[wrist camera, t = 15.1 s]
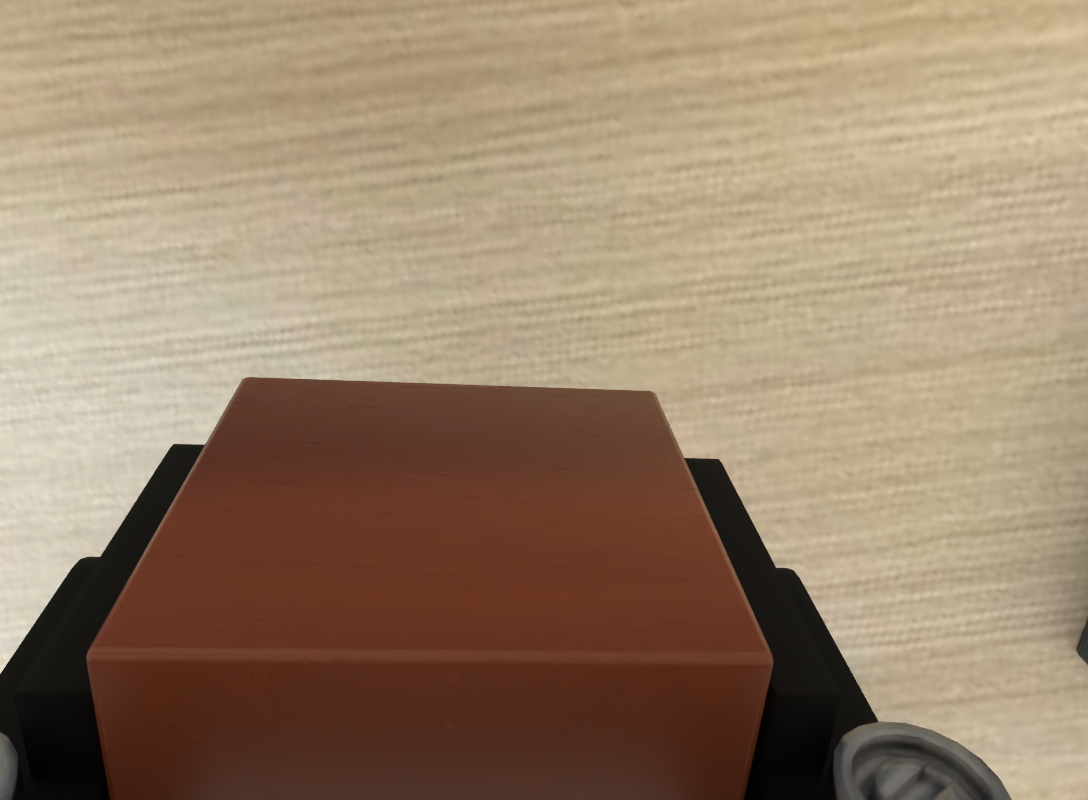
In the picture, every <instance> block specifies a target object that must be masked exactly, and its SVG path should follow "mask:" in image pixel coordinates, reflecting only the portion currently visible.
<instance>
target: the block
mask: <svg viewBox="0 0 1088 800" xmlns="http://www.w3.org/2000/svg"><path fill="white" fill-rule="evenodd" d="M86 660H87V667H88V673H89V679H90V685H91V691H92V697H93V703H94V709H95V714H96V720H97V726H98V732H99V738H100V744H101V750H102V756H103V762H104V768H105V773H106V779H107V785H108V791H109V797H110V800H744V797H745V792H746V788H747V783H748V779H749V774H750V769H751V765H752V760H753V755H754V751H755V746H756V742H757V737H758V732H759V728H760V723H761V719H762V714H763V709H764V705H765V700H766V696H767V691H768V686H769V682H770V677H771V672H772V668H773V662H774V660H773V656H772V653H771V651H770V649H769V646H768V644H767V642H766V640H765V637H764V635H763V633H762V631H761V629H760V626H759V624H758V622H757V620H756V617H755V615H754V613H753V611H752V608H751V606H750V604H749V602H748V600H747V597H746V595H745V593H744V591H743V588H742V586H741V584H740V582H739V579H738V577H737V575H736V573H735V571H734V568H733V566H732V564H731V562H730V559H729V557H728V555H727V553H726V550H725V548H724V546H723V544H722V542H721V539H720V537H719V535H718V533H717V530H716V528H715V526H714V524H713V521H712V519H711V517H710V515H709V512H708V510H707V508H706V506H705V504H704V501H703V499H702V497H701V495H700V492H699V490H698V488H697V486H696V483H695V481H694V479H693V477H692V475H691V472H690V470H689V468H688V466H687V463H686V461H685V459H684V457H683V454H682V452H681V450H680V448H679V446H678V443H677V441H676V439H675V437H674V434H673V432H672V430H671V428H670V425H669V423H668V421H667V419H666V417H665V414H664V412H663V410H662V408H661V405H660V403H659V401H658V399H657V396H656V394H655V393H653V392H651V391H632V390H603V389H574V388H545V387H516V386H487V385H458V384H429V383H400V382H371V381H342V380H313V379H284V378H255V377H248V378H245V379H242V381H241V383H240V385H239V386H238V388H237V390H236V392H235V393H234V395H233V397H232V399H231V400H230V402H229V404H228V406H227V407H226V409H225V411H224V413H223V414H222V416H221V418H220V420H219V421H218V423H217V425H216V427H215V428H214V430H213V432H212V434H211V435H210V437H209V439H208V441H207V442H206V444H205V446H204V448H203V450H202V451H201V453H200V455H199V457H198V458H197V460H196V462H195V464H194V465H193V467H192V469H191V471H190V472H189V474H188V476H187V478H186V479H185V481H184V483H183V485H182V486H181V488H180V490H179V492H178V493H177V495H176V497H175V499H174V500H173V502H172V504H171V506H170V507H169V509H168V511H167V513H166V514H165V516H164V518H163V520H162V521H161V523H160V525H159V527H158V528H157V530H156V532H155V534H154V536H153V537H152V539H151V541H150V543H149V544H148V546H147V548H146V550H145V551H144V553H143V555H142V557H141V558H140V560H139V562H138V564H137V565H136V567H135V569H134V571H133V572H132V574H131V576H130V578H129V579H128V581H127V583H126V585H125V586H124V588H123V590H122V592H121V593H120V595H119V597H118V599H117V600H116V602H115V604H114V606H113V607H112V609H111V611H110V613H109V614H108V616H107V618H106V620H105V622H104V623H103V625H102V627H101V629H100V630H99V632H98V634H97V636H96V637H95V639H94V641H93V643H92V644H91V646H90V648H89V650H88V653H87V655H86Z"/></svg>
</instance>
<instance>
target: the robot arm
mask: <svg viewBox="0 0 1088 800" xmlns="http://www.w3.org/2000/svg"><path fill="white" fill-rule="evenodd" d="M204 446H205V445H191V444H174V445H173V446H172V447H171V448H170V449H169V451H168V452H167V454H166V455H165V457H164V458H163V460H162V462H161V463H160V465H159V466H158V468H157V469H156V471H155V472H154V474H153V476H152V477H151V479H150V480H149V482H148V483H147V485H146V487H145V488H144V490H143V491H142V493H141V494H140V496H139V497H138V499H137V501H136V502H135V504H134V505H133V507H132V508H131V510H130V512H129V513H128V515H127V516H126V518H125V519H124V521H123V522H122V524H121V526H120V527H119V529H118V530H117V532H116V533H115V535H114V536H113V538H112V540H111V541H110V543H109V544H108V546H107V547H106V549H105V551H104V552H103V554H102V555H101V557H86V558H83V559H80V560H79V561H78V562H77V563H76V564H75V565H74V567H73V568H72V569H71V571H70V572H69V573H68V575H67V576H66V578H65V579H64V581H63V582H62V584H61V585H60V587H59V588H58V590H57V591H56V593H55V594H54V596H53V597H52V599H51V600H50V602H49V603H48V605H47V606H46V607H45V609H44V610H43V612H42V613H41V615H40V616H39V618H38V619H37V621H36V622H35V624H34V625H33V627H32V628H31V630H30V631H29V633H28V634H27V636H26V637H25V639H24V640H23V641H22V643H21V644H20V646H19V647H18V649H17V650H16V652H15V653H14V655H13V656H12V658H11V659H10V661H9V662H8V664H7V665H6V667H5V668H4V670H3V671H2V673H1V674H0V800H110V797H109V791H108V785H107V779H106V773H105V768H104V762H103V756H102V750H101V744H100V738H99V732H98V726H97V720H96V714H95V709H94V703H93V697H92V691H91V685H90V679H89V673H88V667H87V660H86V655H87V653H88V650H89V648H90V646H91V644H92V643H93V641H94V639H95V637H96V636H97V634H98V632H99V630H100V629H101V627H102V625H103V623H104V622H105V620H106V618H107V616H108V614H109V613H110V611H111V609H112V607H113V606H114V604H115V602H116V600H117V599H118V597H119V595H120V593H121V592H122V590H123V588H124V586H125V585H126V583H127V581H128V579H129V578H130V576H131V574H132V572H133V571H134V569H135V567H136V565H137V564H138V562H139V560H140V558H141V557H142V555H143V553H144V551H145V550H146V548H147V546H148V544H149V543H150V541H151V539H152V537H153V536H154V534H155V532H156V530H157V528H158V527H159V525H160V523H161V521H162V520H163V518H164V516H165V514H166V513H167V511H168V509H169V507H170V506H171V504H172V502H173V500H174V499H175V497H176V495H177V493H178V492H179V490H180V488H181V486H182V485H183V483H184V481H185V479H186V478H187V476H188V474H189V472H190V471H191V469H192V467H193V465H194V464H195V462H196V460H197V458H198V457H199V455H200V453H201V451H202V450H203V448H204ZM684 459H685V461H686V463H687V466H688V468H689V470H690V472H691V475H692V477H693V479H694V481H695V483H696V486H697V488H698V490H699V492H700V495H701V497H702V499H703V501H704V504H705V506H706V508H707V510H708V512H709V515H710V517H711V519H712V521H713V524H714V526H715V528H716V530H717V533H718V535H719V537H720V539H721V542H722V544H723V546H724V548H725V550H726V553H727V555H728V557H729V559H730V562H731V564H732V566H733V568H734V571H735V573H736V575H737V577H738V579H739V582H740V584H741V586H742V588H743V591H744V593H745V595H746V597H747V600H748V602H749V604H750V606H751V608H752V611H753V613H754V615H755V617H756V620H757V622H758V624H759V626H760V629H761V631H762V633H763V635H764V637H765V640H766V642H767V644H768V646H769V649H770V651H771V653H772V656H773V660H774V662H773V668H772V672H771V677H770V682H769V686H768V691H767V696H766V700H765V705H764V709H763V714H762V719H761V723H760V728H759V732H758V737H757V742H756V746H755V751H754V755H753V760H752V765H751V769H750V774H749V779H748V783H747V788H746V792H745V797H744V800H1011V798H1010V796H1009V794H1008V792H1007V791H1006V789H1005V787H1004V785H1003V784H1002V782H1001V780H1000V779H999V778H998V776H997V775H996V774H995V773H994V772H993V771H992V770H991V769H990V768H989V767H988V766H987V765H986V764H985V763H984V762H983V761H982V760H981V759H980V758H979V757H977V756H976V755H975V754H973V753H972V752H970V751H969V750H968V749H966V748H965V747H963V746H962V745H960V744H959V743H958V742H956V741H953V740H951V739H949V738H947V737H945V736H943V735H941V734H939V733H937V732H934V731H932V730H929V729H925V728H922V727H918V726H914V725H911V724H907V723H896V722H878V720H877V718H876V716H875V714H874V713H873V711H872V709H871V707H870V705H869V704H868V702H867V700H866V698H865V696H864V694H863V693H862V691H861V689H860V687H859V685H858V684H857V682H856V680H855V678H854V676H853V674H852V673H851V671H850V669H849V667H848V665H847V664H846V662H845V660H844V658H843V656H842V654H841V653H840V651H839V649H838V647H837V645H836V644H835V642H834V640H833V638H832V636H831V634H830V633H829V631H828V629H827V627H826V625H825V623H824V622H823V620H822V618H821V616H820V614H819V613H818V611H817V609H816V607H815V605H814V603H813V602H812V600H811V598H810V596H809V594H808V593H807V591H806V589H805V587H804V585H803V583H802V582H801V580H800V578H799V577H798V576H797V574H796V573H795V572H794V571H793V570H791V569H788V568H776V567H775V565H774V563H773V561H772V559H771V557H770V555H769V553H768V551H767V550H766V548H765V546H764V544H763V542H762V540H761V538H760V536H759V534H758V532H757V530H756V528H755V526H754V524H753V523H752V521H751V519H750V517H749V515H748V513H747V511H746V509H745V507H744V505H743V503H742V501H741V499H740V497H739V496H738V494H737V492H736V490H735V488H734V486H733V484H732V482H731V480H730V478H729V476H728V474H727V472H726V471H725V469H724V467H723V465H722V463H721V462H720V460H719V459H699V458H684Z"/></svg>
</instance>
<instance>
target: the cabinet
mask: <svg viewBox="0 0 1088 800" xmlns="http://www.w3.org/2000/svg"><path fill="white" fill-rule="evenodd" d="M1077 653H1078V655H1079V656H1080V657H1081V658H1082V659H1083V660H1084V661H1085V662H1086V663H1087V664H1088V623H1087V626H1086V628H1085V631H1084V634H1083V637H1082V640H1081V642H1080V645H1079V648H1078V651H1077Z"/></svg>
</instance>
